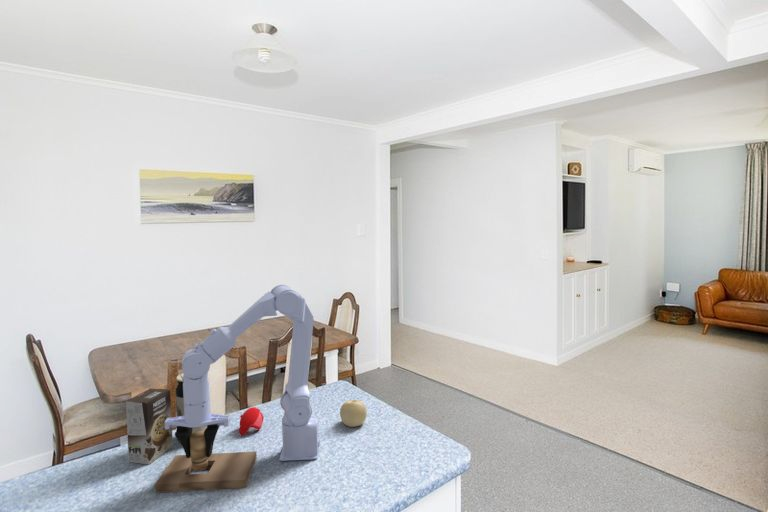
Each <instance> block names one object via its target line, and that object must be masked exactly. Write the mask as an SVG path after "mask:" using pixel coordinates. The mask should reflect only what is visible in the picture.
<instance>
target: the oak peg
mask: <svg viewBox="0 0 768 512" xmlns="http://www.w3.org/2000/svg"><path fill="white" fill-rule="evenodd" d="M190 457H191V458H192V459H191V462H192V471H194V472H200V471H203V470H206V468H207V467H208V457H206V441H205V436H204V431H197V432H194V433H192V434H191V435H190Z"/></svg>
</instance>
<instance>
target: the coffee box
mask: <svg viewBox="0 0 768 512" xmlns="http://www.w3.org/2000/svg"><path fill="white" fill-rule="evenodd" d="M125 409H126V411H125V412H126V413H125V414H126V433H127V449H128V450H127V452H128V454H127V456H128V462H129V463H135V464H143V465H151V464H152V463H153V462H155V461H156V460H157V459H159V458H160V457H161V456H163V455H164V454H165V453H166V452H168V451H169V450H170V449H172V448H173V447H174V441H173V428H170V429H165V421H166V420H167V418H172V400H171V389H169V388H167V389H166V388H153V387H152V388H148V389H147V390H144V391H143V392H141V393H139V394H137V395H134V396H132V397H131V398H130V399H129V398H128V399H127V400H126V401H125Z"/></svg>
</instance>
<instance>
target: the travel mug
mask: <svg viewBox="0 0 768 512" xmlns="http://www.w3.org/2000/svg"><path fill="white" fill-rule="evenodd" d="M183 375H184V373H183V372H182V373H179V374H178V375H177V376H176V381H177V383H178V384H177V386H176V388H175V401H176V403H175V404H176V417H179V416H184V398H183V382H184V381H183ZM206 428H207V426H201V427H193V428H192V433H194V432H197V431H205V429H206Z"/></svg>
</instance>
